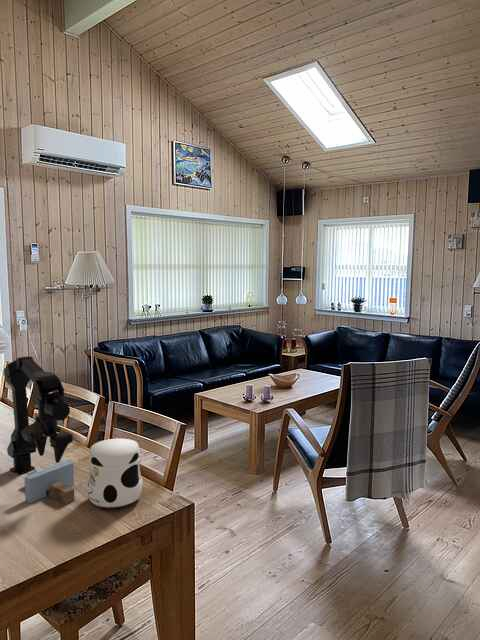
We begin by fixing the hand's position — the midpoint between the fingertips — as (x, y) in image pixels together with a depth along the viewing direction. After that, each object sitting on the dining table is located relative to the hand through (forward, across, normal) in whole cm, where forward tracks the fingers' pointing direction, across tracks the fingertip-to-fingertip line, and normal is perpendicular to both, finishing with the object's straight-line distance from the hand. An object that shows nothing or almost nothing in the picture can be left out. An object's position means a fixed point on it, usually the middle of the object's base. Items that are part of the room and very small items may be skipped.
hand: (49, 458), depth 164 cm
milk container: (+12, +21, +10) cm, 26 cm away
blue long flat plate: (+12, 0, 0) cm, 12 cm away
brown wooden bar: (+12, 0, 0) cm, 12 cm away
